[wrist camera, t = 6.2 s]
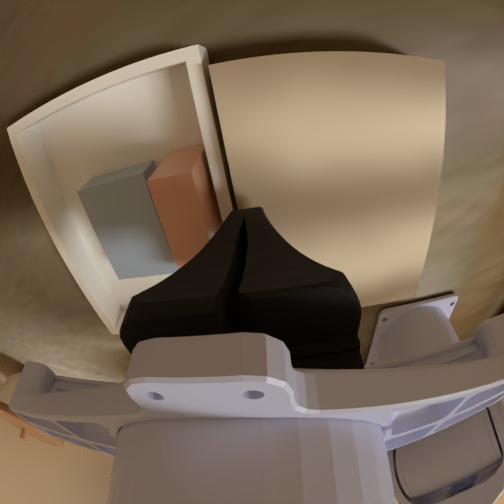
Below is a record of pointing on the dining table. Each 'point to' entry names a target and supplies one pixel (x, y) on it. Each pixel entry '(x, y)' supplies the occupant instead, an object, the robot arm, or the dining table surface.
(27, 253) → the dining table surface
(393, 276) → the birch plate
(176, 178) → the terracotta tile
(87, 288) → the box
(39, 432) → the lidded bowl
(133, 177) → the slate-blue tile
